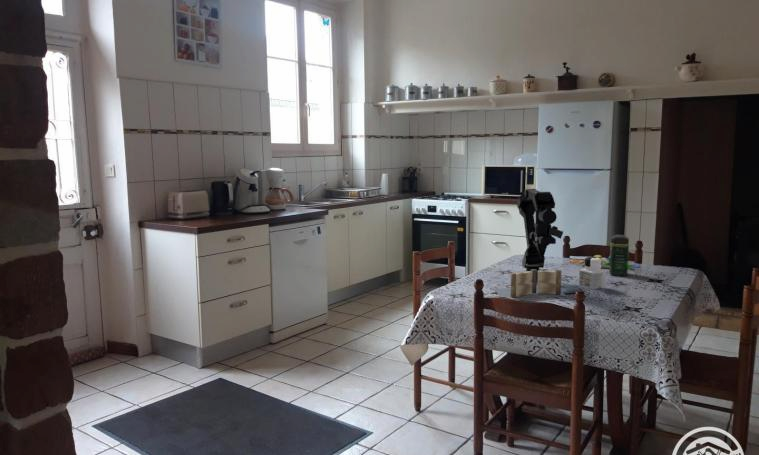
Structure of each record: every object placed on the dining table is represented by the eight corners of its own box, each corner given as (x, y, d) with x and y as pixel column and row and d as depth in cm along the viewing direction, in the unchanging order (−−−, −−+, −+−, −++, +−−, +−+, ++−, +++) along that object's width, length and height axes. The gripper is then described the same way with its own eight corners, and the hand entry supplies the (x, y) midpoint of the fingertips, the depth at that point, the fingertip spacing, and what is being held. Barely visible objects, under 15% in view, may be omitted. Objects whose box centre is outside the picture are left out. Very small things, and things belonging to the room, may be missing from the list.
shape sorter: (564, 266, 295) (564, 257, 294) (574, 260, 310) (574, 251, 310) (635, 272, 277) (635, 263, 276) (642, 265, 292) (642, 256, 292)
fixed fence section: (561, 293, 235) (561, 269, 233) (561, 294, 232) (561, 271, 231) (537, 291, 237) (538, 268, 236) (537, 293, 235) (537, 270, 234)
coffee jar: (628, 276, 265) (629, 236, 263) (609, 275, 268) (610, 236, 266) (627, 272, 274) (628, 233, 272) (609, 271, 277) (610, 233, 275)
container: (578, 286, 249) (579, 256, 247) (592, 284, 252) (593, 255, 250) (591, 290, 242) (592, 259, 240) (606, 288, 245) (607, 258, 243)
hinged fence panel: (533, 291, 238) (533, 269, 237) (537, 292, 236) (538, 270, 235) (509, 296, 232) (509, 273, 230) (513, 297, 230) (513, 274, 228)
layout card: (493, 290, 246) (493, 288, 246) (553, 288, 247) (553, 286, 247) (501, 298, 231) (501, 297, 231) (565, 297, 232) (565, 295, 232)
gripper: (568, 223, 235) (568, 261, 237) (554, 218, 254) (554, 253, 256) (541, 224, 235) (540, 261, 237) (529, 219, 254) (529, 254, 256)
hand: (542, 257), depth 246 cm, fingers closed
